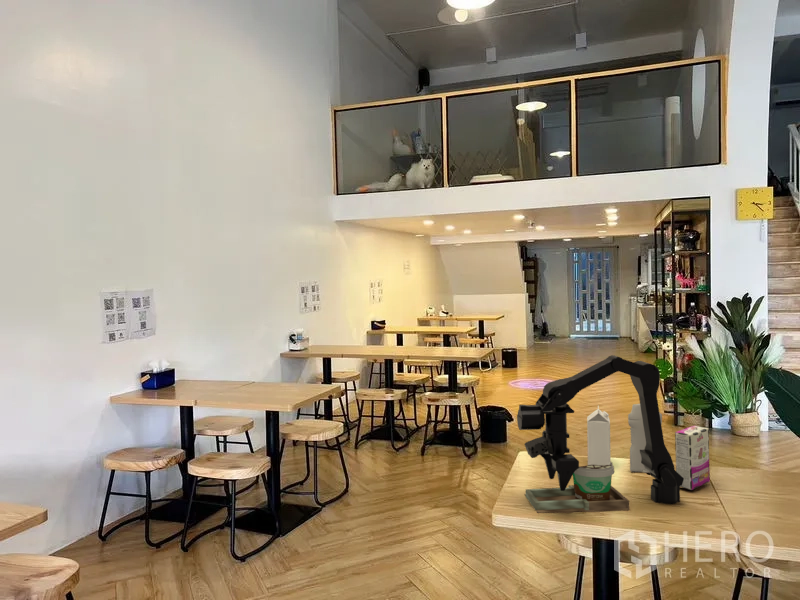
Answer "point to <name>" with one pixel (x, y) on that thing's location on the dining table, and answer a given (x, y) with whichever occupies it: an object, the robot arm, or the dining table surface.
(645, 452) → the robot arm
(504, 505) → the dining table surface
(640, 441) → the light grey flat bottle
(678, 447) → the candy bar box
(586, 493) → the food container
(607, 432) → the milk carton
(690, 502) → the dining table surface
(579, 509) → the green flat tray
